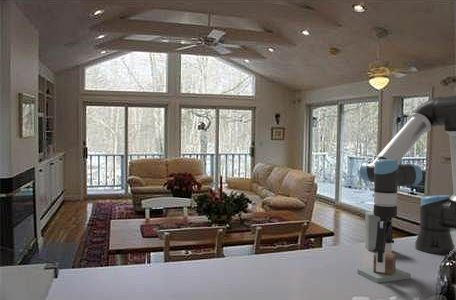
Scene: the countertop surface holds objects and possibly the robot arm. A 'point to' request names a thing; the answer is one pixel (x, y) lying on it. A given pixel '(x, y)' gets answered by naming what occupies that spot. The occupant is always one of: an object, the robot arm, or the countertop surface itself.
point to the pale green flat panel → (383, 275)
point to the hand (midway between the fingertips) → (383, 266)
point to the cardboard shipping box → (387, 264)
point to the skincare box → (371, 230)
